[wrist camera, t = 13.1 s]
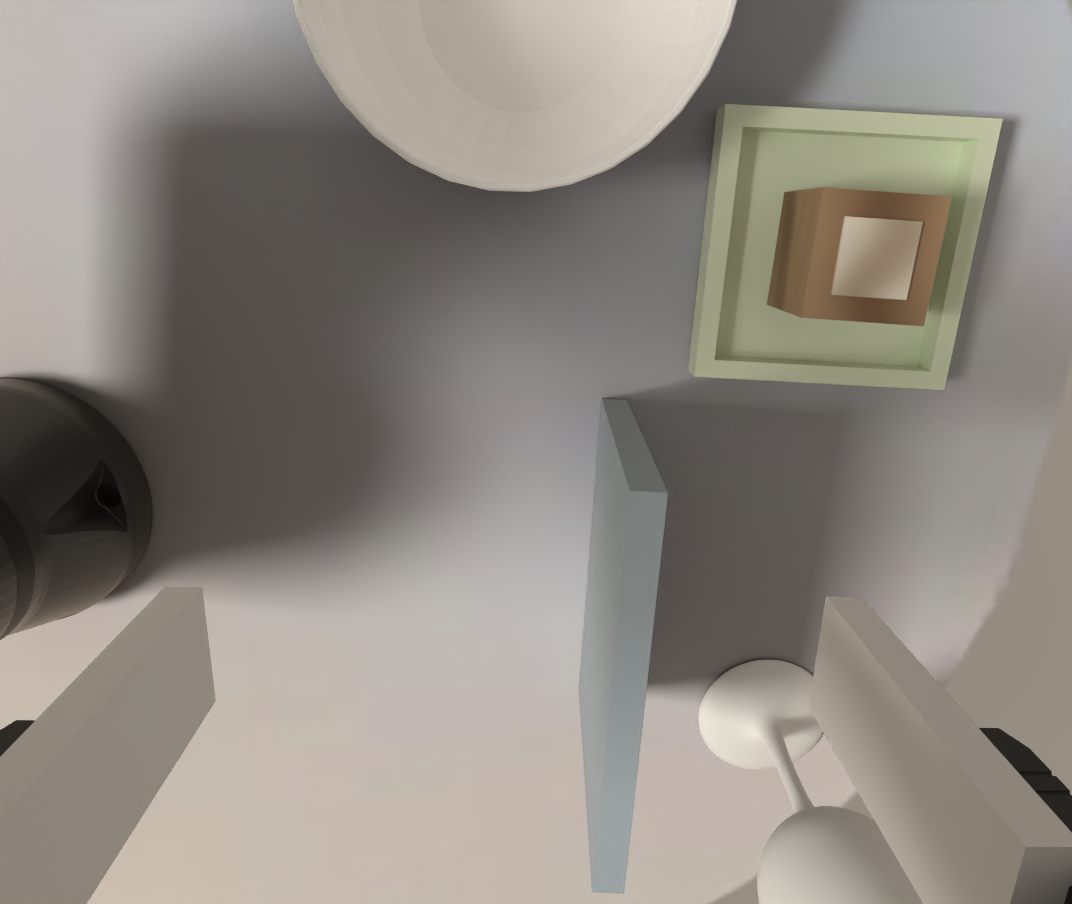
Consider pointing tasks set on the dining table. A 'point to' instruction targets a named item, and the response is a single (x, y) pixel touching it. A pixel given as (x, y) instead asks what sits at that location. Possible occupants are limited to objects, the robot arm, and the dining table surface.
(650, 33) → the bowl
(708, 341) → the tray
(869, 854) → the wineglass
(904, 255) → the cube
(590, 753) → the screen
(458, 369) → the dining table surface
